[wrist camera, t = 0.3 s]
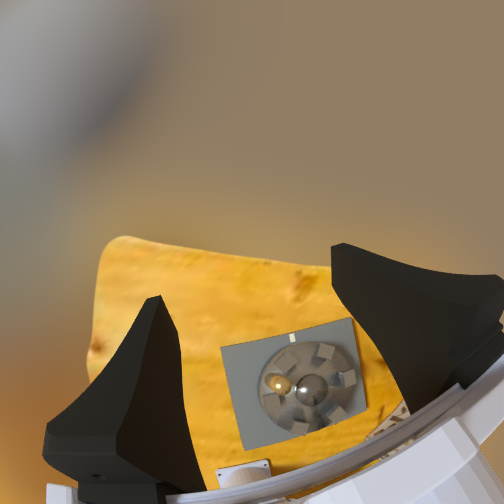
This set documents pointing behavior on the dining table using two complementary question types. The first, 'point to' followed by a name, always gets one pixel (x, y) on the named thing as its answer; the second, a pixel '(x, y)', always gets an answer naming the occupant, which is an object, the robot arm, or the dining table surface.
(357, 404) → the base plate
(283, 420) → the notched steel disc
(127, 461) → the robot arm
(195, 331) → the dining table surface
